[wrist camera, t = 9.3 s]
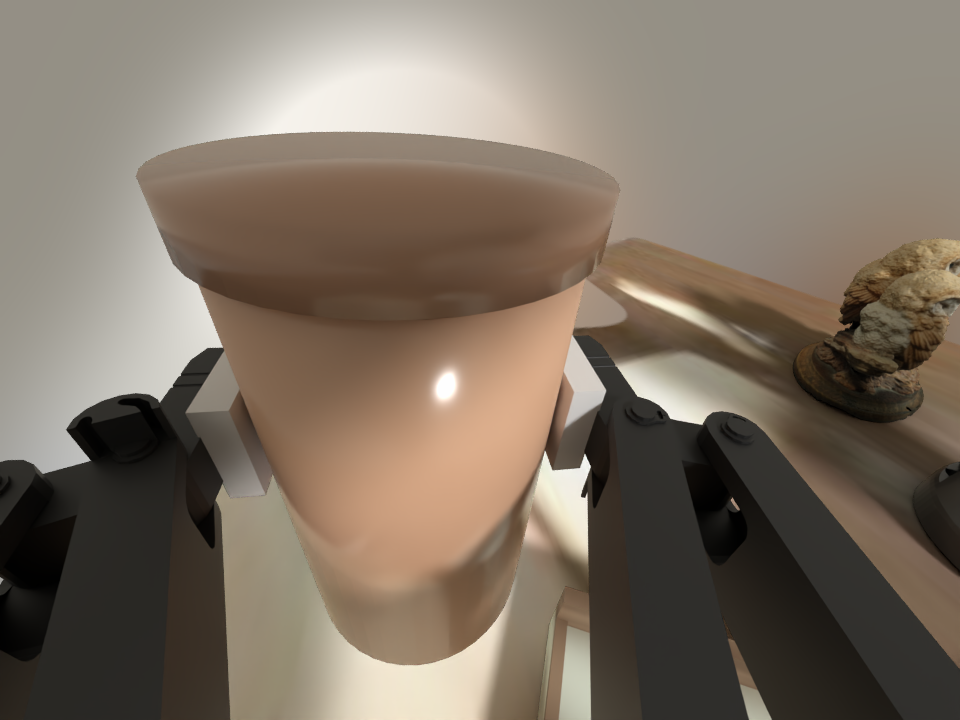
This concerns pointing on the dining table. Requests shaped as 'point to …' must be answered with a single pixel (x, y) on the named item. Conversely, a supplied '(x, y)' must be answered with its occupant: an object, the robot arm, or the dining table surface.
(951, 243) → the owl figurine
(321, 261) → the canister
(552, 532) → the dining table surface
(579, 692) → the divided tray
